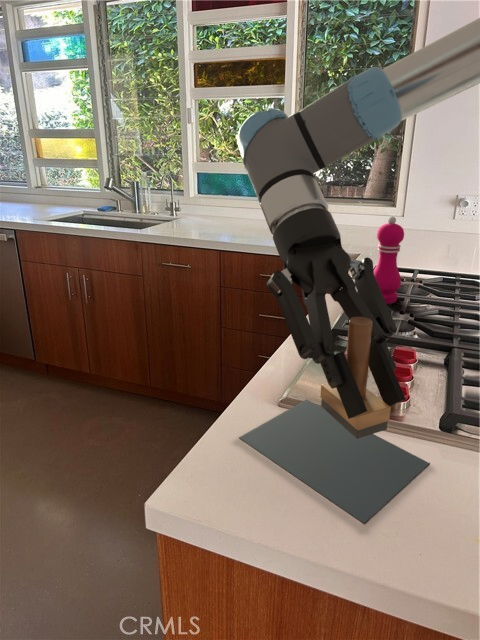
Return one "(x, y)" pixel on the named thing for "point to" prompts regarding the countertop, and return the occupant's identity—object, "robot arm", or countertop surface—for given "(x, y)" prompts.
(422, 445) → the countertop surface
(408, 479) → the mat
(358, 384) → the scrub brush
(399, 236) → the pepper mill
